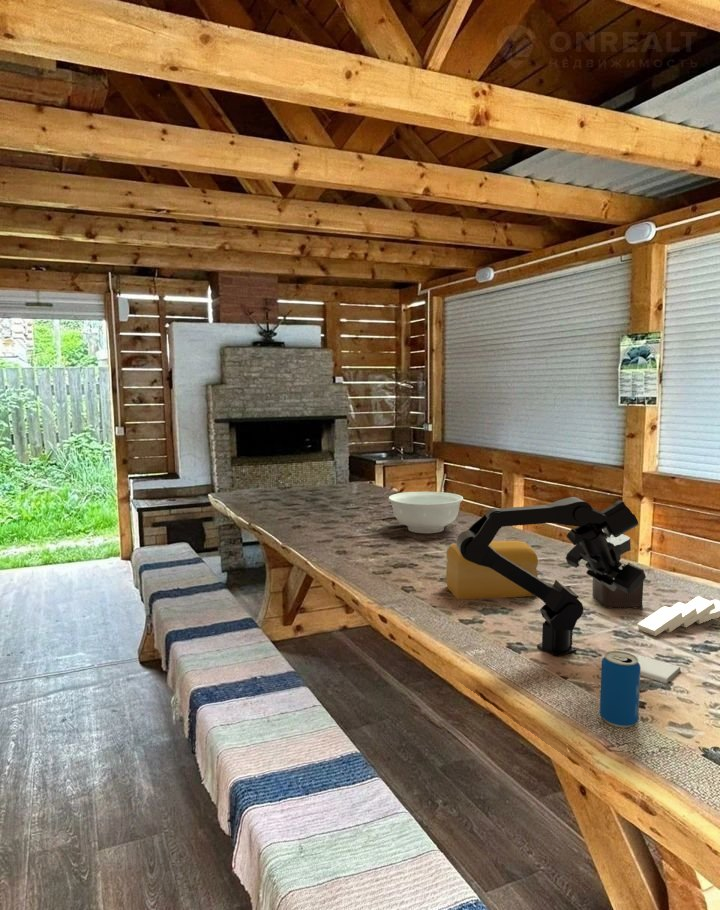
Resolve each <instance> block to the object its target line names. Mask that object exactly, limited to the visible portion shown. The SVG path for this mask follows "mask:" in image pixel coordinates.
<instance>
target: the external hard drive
mask: <svg viewBox="0 0 720 910" xmlns="http://www.w3.org/2000/svg"><path fill="white" fill-rule="evenodd" d="M621 651H622V652H627V653H630V654H632V655H634V656H636V657H637V658H638V663H639V664H640V667H641V669H640V677H643V678H644V677H645V678H648V679H650V680H651V679H652V680H653V681H657V682H661V683H664V684H668V683H669V682H670V681H671V680H673V678H674V677H675V676H676V675H678V674H679V673H680V672H681V666H678V665H676V664H675V665H674V664H671V663H667V662H664V661H661V660H657V659H654V658H650V657H646V656H643V655H639V654H636V653H631V652H628V651H625V650H621Z"/></svg>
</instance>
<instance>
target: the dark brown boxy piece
mask: <svg viewBox="0 0 720 910" xmlns="http://www.w3.org/2000/svg"><path fill="white" fill-rule="evenodd" d="M618 562H619V563H622V566H624V567H625V566H626V565H627V564H631V562H628V563H627V564H626V563H623V562H622V561H621V559H620V560H619V561H618ZM643 594H644V580H643V581H642V582H641V583H640V585H639V586H638V587H637V588H636V589H635V590H634V591H633V592H632V593H626V592H624V591H622V590H620V589H618V588H617V587H616V590H615V591H612V590H610V589H609V588H607V587H606V586H604V585H603V584H602V583H600V582H599V581H597V580H596V579H594V578H593V577H592V594H591V595H592V598H593V599H594V600H595V601H597V602H598V603H599V604H601V605H602V606H603V607H605V608H606V609H642V608H643V607H644V606H643V597H644V595H643ZM641 607H642V608H641Z"/></svg>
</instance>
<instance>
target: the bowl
mask: <svg viewBox="0 0 720 910" xmlns="http://www.w3.org/2000/svg"><path fill="white" fill-rule="evenodd" d="M388 501H389V502H390V504H391V506H392V511H393V515H394V517H395V518H396V519H397V521H398V522H399V523H401V524H402V525H404V526H407V529H408V531H409V532H412V533H417V534H437V533H441V532H443V531H444V529H445V526H449V524H451V523H453V522H454V520H455V519H456V518H457V517H458V514H459V511H460V505H461V503H462V502H463V501H464V496H462V495H460V494H457V493H452V492H442V491H407V492H399V493H395V494H394V493H393V494H391V495H389V497H388Z"/></svg>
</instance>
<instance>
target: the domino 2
mask: <svg viewBox="0 0 720 910" xmlns="http://www.w3.org/2000/svg"><path fill="white" fill-rule="evenodd" d="M669 608H672V609H674V610H677V611H680V612H682V616H683V618H681V619H680V620H678V621H677V622H676V623H674V624H673V625H671V626H670V627H668V628H667V629H665V630H664V631H665V632H667V631H668V632H667V633H671V632H672V631H675V629H677V628H678V627H681V624H683V623H684V622H685V621H687V620H688V619H690V618H691V617H693V616H694V615H696V614H697V611H696V608H695V607H692V606H689V605H686V603H683V602H680V601H677V602H676V603H675V604H673V605H671V606H670V607H669Z"/></svg>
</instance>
